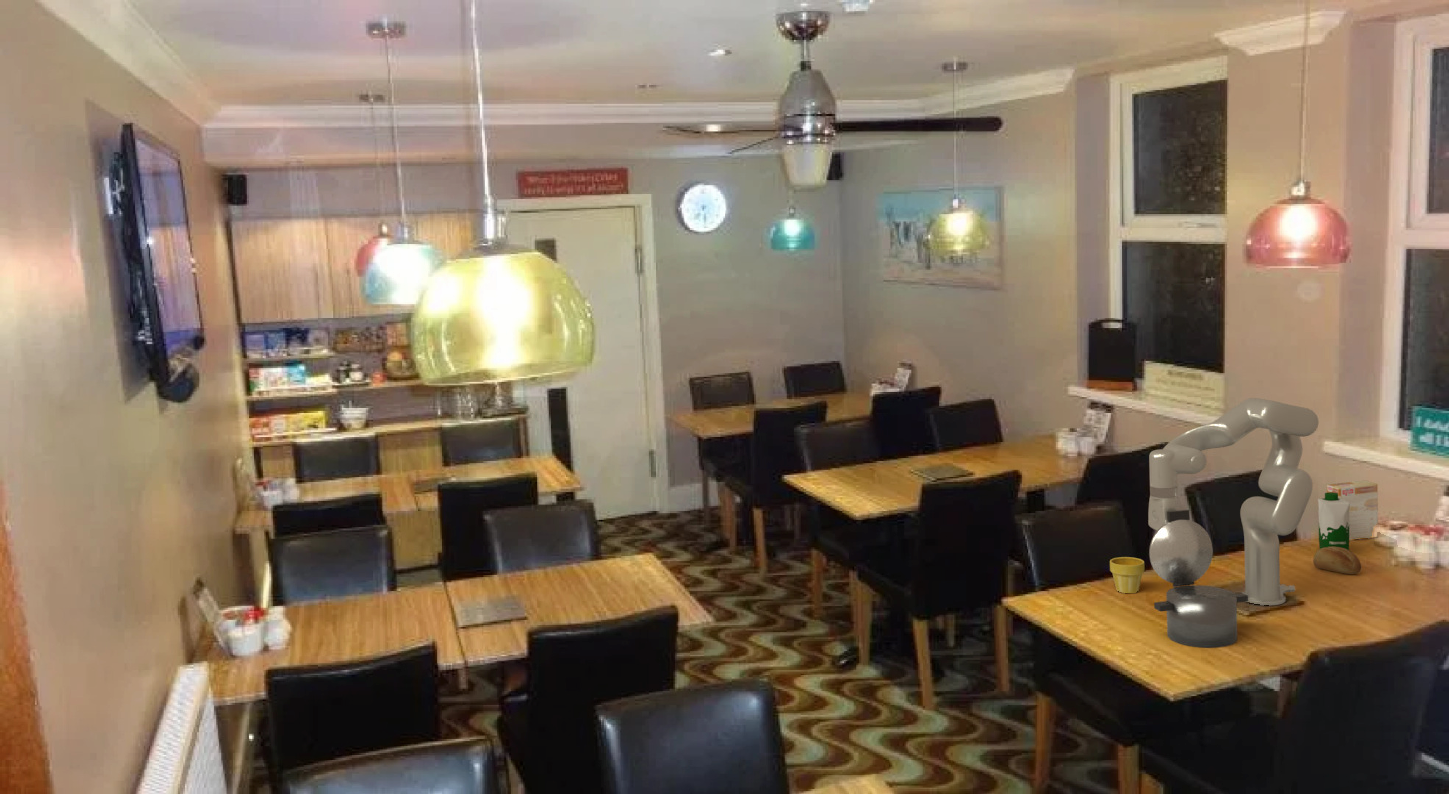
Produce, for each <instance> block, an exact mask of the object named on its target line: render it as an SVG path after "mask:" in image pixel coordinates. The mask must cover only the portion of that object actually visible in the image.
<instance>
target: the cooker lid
mask: <svg viewBox="0 0 1449 794" xmlns="http://www.w3.org/2000/svg"><path fill="white" fill-rule="evenodd" d="M1167 521H1168V522H1167V523H1166V524H1164V525H1163V526H1161V527H1160V528H1159V529H1158V530H1157V531H1155V533H1154V534H1153V537H1152V538H1151V541H1150V545H1149V548H1148V549H1149V553H1148V555H1149V561H1150V564H1151V566H1152V568H1153V570H1154V572H1155V573H1156V574H1157V576H1159V577H1160V578H1161V579H1162V580H1164V581H1166V582H1168V583H1171V584H1172V587H1173V588H1174V587H1179V586H1188V585H1195V582H1196V581H1198V580H1199V579H1200V578H1201V577H1203V576H1204V575H1205V574H1206V572H1207V571H1208V570H1209V567H1210V565H1211V563H1212V561H1213V560H1212V559H1213V553H1214V549H1213V543H1212V540H1211V539H1212V538H1211V537H1210V535H1209V533H1208V532H1207V531H1206V529H1205V528H1204V527H1203V526H1201V525H1200V524H1199V523H1197V522H1195V521H1193V520H1191V519H1190V510H1189V509H1178V510H1177V511H1168V512H1167Z"/></svg>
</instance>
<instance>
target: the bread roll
mask: <svg viewBox="0 0 1449 794" xmlns="http://www.w3.org/2000/svg"><path fill="white" fill-rule="evenodd" d="M1312 562H1313V565H1314V567H1316V568H1317V569H1319V570H1326V571H1329V572H1337V573H1340V574H1345V575H1346V574H1347V575H1357V574H1360V572H1361V571H1362V564H1361V561H1360V558H1359V557H1358V556H1357V555H1356V554H1355V553H1354V552H1352V551H1351V550H1350V549H1349V550H1347V549H1345V548H1340V547H1327V548H1326V547H1324V548H1321V549H1320V548H1319V549H1318V550H1317V551H1316V553H1315V554H1314V557H1313V560H1312Z"/></svg>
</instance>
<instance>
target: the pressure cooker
mask: <svg viewBox="0 0 1449 794" xmlns="http://www.w3.org/2000/svg"><path fill="white" fill-rule="evenodd" d="M1165 596H1166V600H1165V601H1158V602H1156V601H1155V602H1153V607H1154V609H1155V610H1157V611H1159V612H1166V632H1167V634H1166V635H1167V638H1168V639H1170V640H1171V641H1172V642H1175V643H1177V644H1180V645H1183V646H1187V647H1192V648H1193V647H1194V648H1203V649H1205V648H1206V649H1213V648H1214V649H1215V648H1222V647H1223V648H1224V647H1228V646H1232V645H1233V644H1235V643H1237V641H1238V609H1237V608H1238V607H1237V606H1238V605H1237V603H1246V601H1248V595H1246V594H1243V593H1242V592H1236V593H1235V592H1233V591H1231V590H1229V589H1225V588H1222V587H1217V586H1213V585H1212V586H1211V585H1200V584H1199V585H1198V584H1196V585H1195V584H1194V585H1186V586H1177V587H1173V588H1170V589H1168V590H1167V591H1166V592H1165Z"/></svg>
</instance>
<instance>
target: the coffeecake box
mask: <svg viewBox="0 0 1449 794" xmlns="http://www.w3.org/2000/svg"><path fill="white" fill-rule="evenodd" d="M1328 492H1333V493H1338V498H1342V499H1344V500H1346V501H1347V502H1348V503H1350V509H1349V540H1350V541H1352V540H1351V539H1358V538H1368V539H1371V538H1370V537H1371V536H1372V531H1373V527H1374V526H1375V525H1376V524H1378V523H1379V522H1378V521H1379V520H1378V519H1379V518H1378V516H1379V513H1378V511H1379V510H1378V508H1379V507H1378V506H1379V503H1378V502H1379V501H1378V500H1379V499H1378V495H1379V494H1378V483H1376V482H1371V481H1369V480H1364V479H1363V480H1357V481H1349V482H1348V481H1347V482H1340V483H1338V482H1337V483H1330V484H1326V493H1328Z"/></svg>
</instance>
